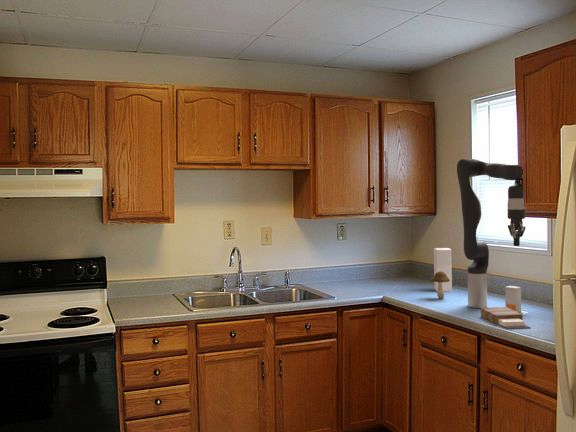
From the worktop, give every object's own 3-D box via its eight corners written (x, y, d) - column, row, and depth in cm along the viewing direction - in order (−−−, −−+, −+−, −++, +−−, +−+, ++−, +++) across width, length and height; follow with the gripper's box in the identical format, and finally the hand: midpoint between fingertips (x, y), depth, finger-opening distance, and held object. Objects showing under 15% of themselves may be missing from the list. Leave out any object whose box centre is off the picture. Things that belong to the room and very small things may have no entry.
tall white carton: (436, 291, 324) (436, 249, 323) (434, 289, 333) (433, 248, 332) (452, 291, 323) (451, 249, 322) (449, 289, 332) (448, 247, 331)
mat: (498, 324, 242) (498, 323, 241) (520, 323, 242) (520, 322, 242) (507, 329, 233) (507, 328, 233) (530, 328, 234) (530, 327, 234)
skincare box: (505, 311, 268) (504, 286, 268) (510, 309, 271) (510, 285, 270) (516, 313, 263) (516, 288, 263) (521, 311, 266) (521, 287, 265)
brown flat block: (481, 316, 258) (480, 307, 258) (505, 315, 259) (505, 307, 259) (496, 324, 242) (496, 315, 242) (522, 323, 243) (522, 314, 243)
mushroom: (437, 296, 311) (437, 269, 310) (454, 299, 301) (453, 271, 301) (426, 298, 306) (426, 271, 305) (442, 301, 296) (442, 273, 296)
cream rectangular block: (498, 323, 242) (498, 318, 242) (518, 322, 242) (518, 318, 242) (503, 326, 236) (503, 322, 236) (524, 326, 236) (524, 321, 236)
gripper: (501, 208, 259) (502, 245, 260) (515, 208, 246) (515, 247, 247) (517, 207, 260) (517, 244, 261) (531, 208, 247) (531, 247, 247)
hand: (516, 245), depth 254 cm, fingers closed
